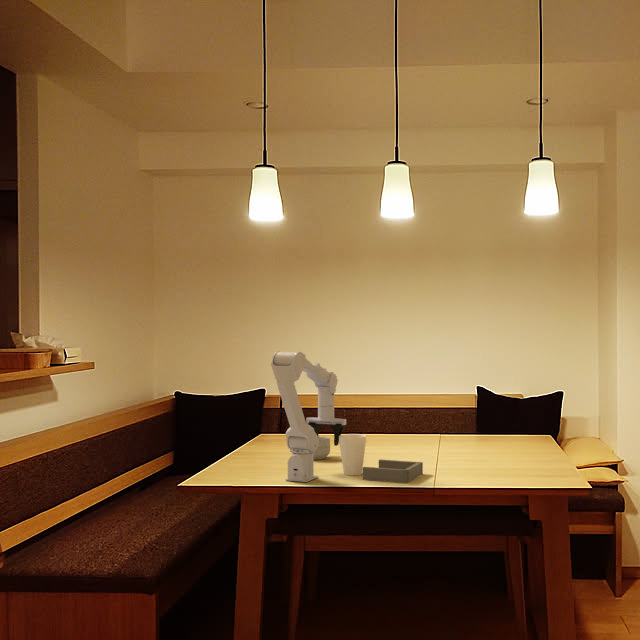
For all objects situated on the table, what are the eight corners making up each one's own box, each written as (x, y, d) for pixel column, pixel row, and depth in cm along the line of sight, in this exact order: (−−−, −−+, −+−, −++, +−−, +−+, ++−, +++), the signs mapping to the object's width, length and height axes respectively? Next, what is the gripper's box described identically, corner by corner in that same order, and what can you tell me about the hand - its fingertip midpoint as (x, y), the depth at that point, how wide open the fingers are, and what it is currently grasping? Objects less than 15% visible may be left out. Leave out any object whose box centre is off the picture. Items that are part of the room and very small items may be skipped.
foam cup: (353, 470, 292) (353, 433, 292) (371, 473, 285) (371, 436, 285) (333, 473, 285) (333, 436, 285) (352, 477, 279) (351, 438, 279)
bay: (407, 482, 268) (407, 470, 268) (362, 479, 275) (362, 467, 275) (422, 473, 284) (422, 462, 284) (380, 470, 290) (380, 459, 290)
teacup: (317, 462, 309) (317, 440, 309) (296, 459, 316) (296, 438, 316) (341, 457, 319) (341, 436, 319) (320, 454, 327) (319, 434, 327)
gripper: (349, 405, 290) (349, 444, 290) (312, 404, 296) (312, 442, 296) (341, 407, 284) (342, 447, 284) (303, 406, 290) (303, 444, 290)
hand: (326, 444), depth 290 cm, fingers open, 7 cm apart
